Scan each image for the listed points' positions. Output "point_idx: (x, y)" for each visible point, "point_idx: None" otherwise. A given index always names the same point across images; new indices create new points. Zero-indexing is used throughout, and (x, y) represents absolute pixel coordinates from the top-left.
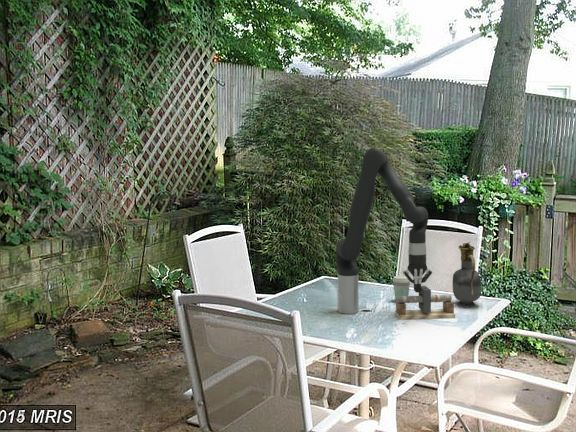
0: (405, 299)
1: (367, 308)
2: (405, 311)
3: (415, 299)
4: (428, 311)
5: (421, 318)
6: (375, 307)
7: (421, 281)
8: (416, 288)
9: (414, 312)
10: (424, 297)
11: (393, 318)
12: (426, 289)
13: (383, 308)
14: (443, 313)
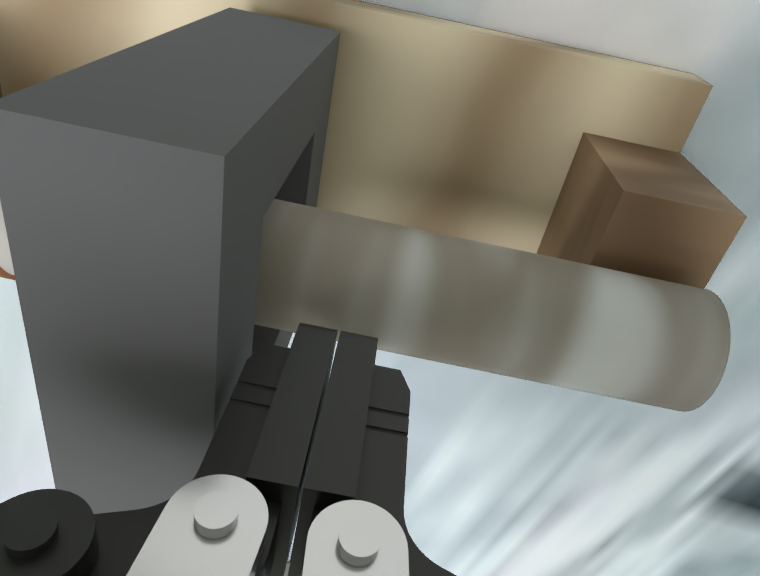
0: (609, 285)
1: (694, 539)
2: (601, 148)
3: (416, 242)
4: (264, 16)
5: (394, 10)
6: (607, 540)
7: (142, 548)
8: (367, 398)
9: (409, 203)
10: (270, 92)
11: (727, 161)
12: (115, 231)
13: (561, 500)
14: (37, 22)
